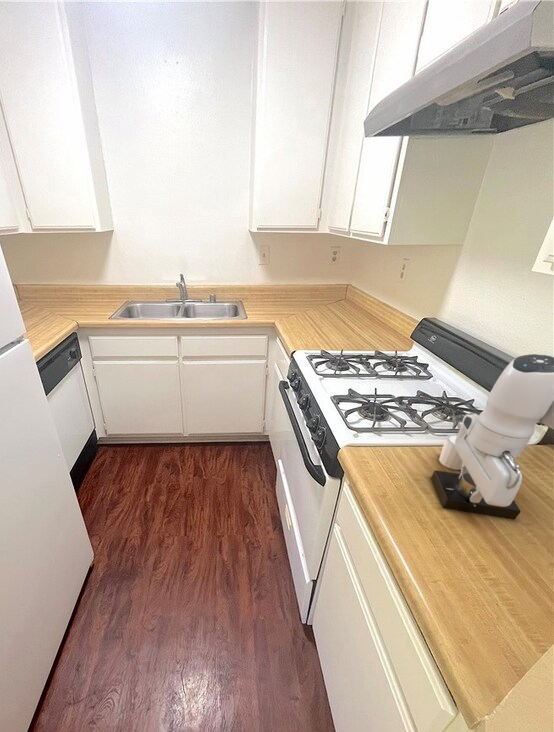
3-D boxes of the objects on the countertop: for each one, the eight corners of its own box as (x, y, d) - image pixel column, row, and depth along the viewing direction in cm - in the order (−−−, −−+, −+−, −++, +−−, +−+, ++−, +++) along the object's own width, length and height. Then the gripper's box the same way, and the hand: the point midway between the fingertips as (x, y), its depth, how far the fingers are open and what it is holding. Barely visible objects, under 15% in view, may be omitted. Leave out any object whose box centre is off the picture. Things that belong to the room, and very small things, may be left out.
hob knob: (453, 483, 77) (460, 470, 75) (475, 487, 76) (483, 474, 74) (458, 496, 74) (466, 483, 72) (482, 501, 73) (490, 487, 71)
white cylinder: (438, 468, 86) (449, 446, 82) (434, 453, 92) (444, 431, 88) (469, 475, 85) (481, 452, 81) (463, 459, 90) (474, 436, 86)
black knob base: (494, 489, 81) (500, 479, 79) (515, 524, 72) (523, 513, 70) (430, 479, 83) (434, 469, 81) (443, 512, 74) (449, 501, 72)
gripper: (544, 474, 58) (505, 530, 66) (493, 414, 75) (467, 464, 82) (502, 468, 59) (469, 524, 67) (462, 411, 76) (439, 460, 83)
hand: (467, 490), depth 75 cm, fingers open, 5 cm apart
